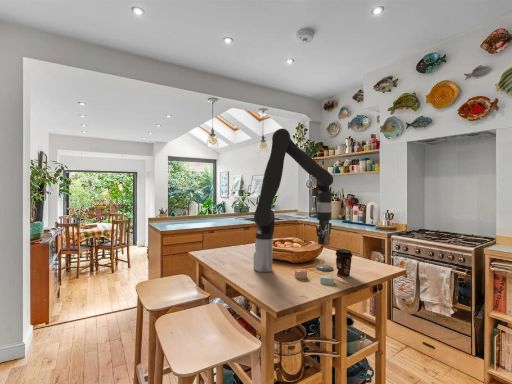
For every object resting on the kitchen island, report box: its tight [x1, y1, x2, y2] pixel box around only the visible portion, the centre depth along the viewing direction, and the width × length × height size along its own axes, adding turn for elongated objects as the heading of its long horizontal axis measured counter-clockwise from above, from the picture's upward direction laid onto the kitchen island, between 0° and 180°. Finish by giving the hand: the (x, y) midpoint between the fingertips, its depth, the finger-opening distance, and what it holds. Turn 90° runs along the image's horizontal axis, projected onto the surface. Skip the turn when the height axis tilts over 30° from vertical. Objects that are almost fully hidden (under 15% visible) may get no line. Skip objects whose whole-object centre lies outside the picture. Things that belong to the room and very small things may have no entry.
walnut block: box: [317, 233, 331, 247], centre depth 142 cm, size 4×4×6 cm
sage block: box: [319, 274, 335, 285], centre depth 128 cm, size 6×4×3 cm, turn 77°
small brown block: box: [294, 268, 308, 281], centre depth 134 cm, size 6×6×4 cm
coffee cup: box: [335, 248, 353, 279], centre depth 138 cm, size 9×8×13 cm
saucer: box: [315, 264, 333, 272], centre depth 149 cm, size 9×9×1 cm
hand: (323, 243), depth 142 cm, fingers closed on walnut block, 4 cm apart
